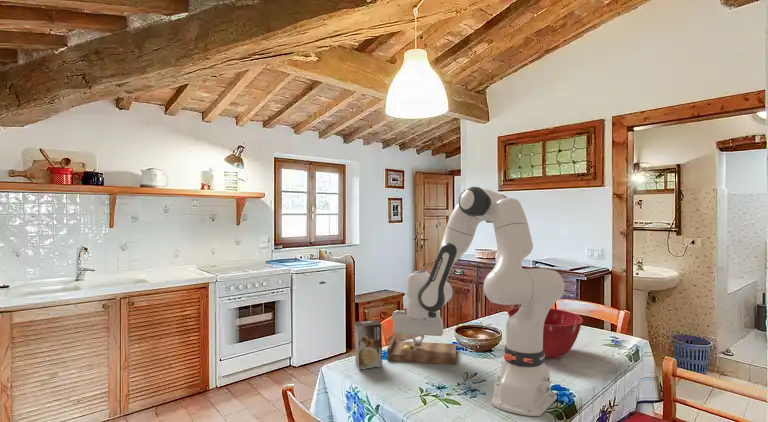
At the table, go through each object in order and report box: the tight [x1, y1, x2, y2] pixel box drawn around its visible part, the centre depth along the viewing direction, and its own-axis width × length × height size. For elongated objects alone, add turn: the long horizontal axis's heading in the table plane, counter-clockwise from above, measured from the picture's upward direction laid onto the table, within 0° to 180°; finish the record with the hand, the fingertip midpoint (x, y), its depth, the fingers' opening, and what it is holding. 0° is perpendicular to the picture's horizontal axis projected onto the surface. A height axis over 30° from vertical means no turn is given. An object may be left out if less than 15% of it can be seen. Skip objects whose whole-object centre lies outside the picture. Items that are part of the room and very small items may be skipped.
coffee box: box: [354, 320, 383, 370], centre depth 151 cm, size 9×6×16 cm
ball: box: [402, 345, 411, 350], centre depth 163 cm, size 4×4×4 cm
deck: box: [386, 335, 457, 365], centre depth 162 cm, size 26×16×4 cm, turn 80°
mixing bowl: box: [507, 307, 584, 360], centre depth 164 cm, size 28×28×16 cm
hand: (418, 345), depth 163 cm, fingers closed
